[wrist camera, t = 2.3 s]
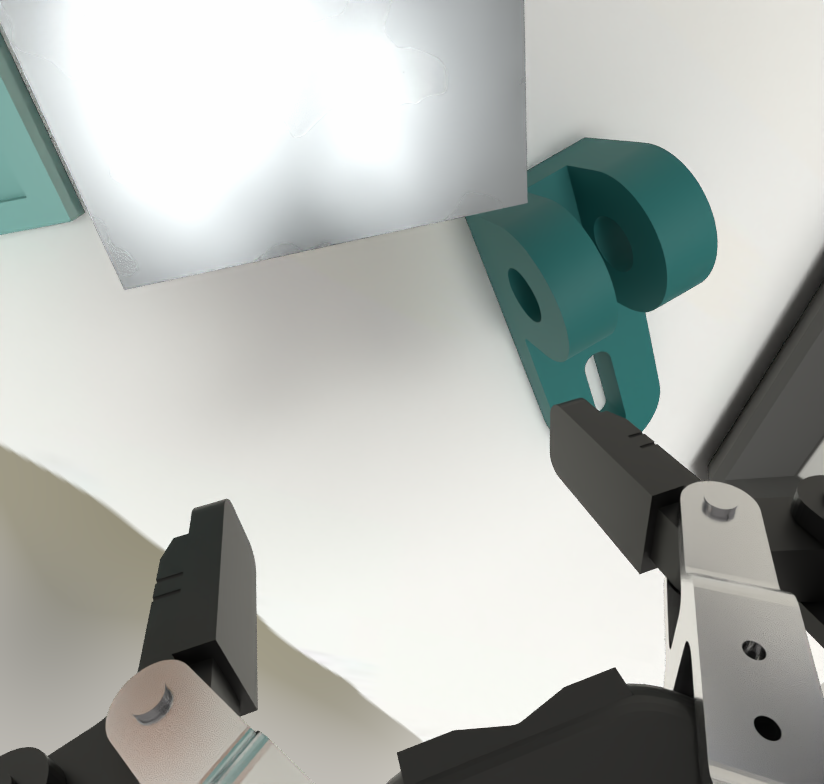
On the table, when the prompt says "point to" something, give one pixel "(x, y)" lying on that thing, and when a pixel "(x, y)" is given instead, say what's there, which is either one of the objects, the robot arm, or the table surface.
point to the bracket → (596, 267)
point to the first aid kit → (781, 418)
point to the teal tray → (28, 161)
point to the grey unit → (275, 120)
